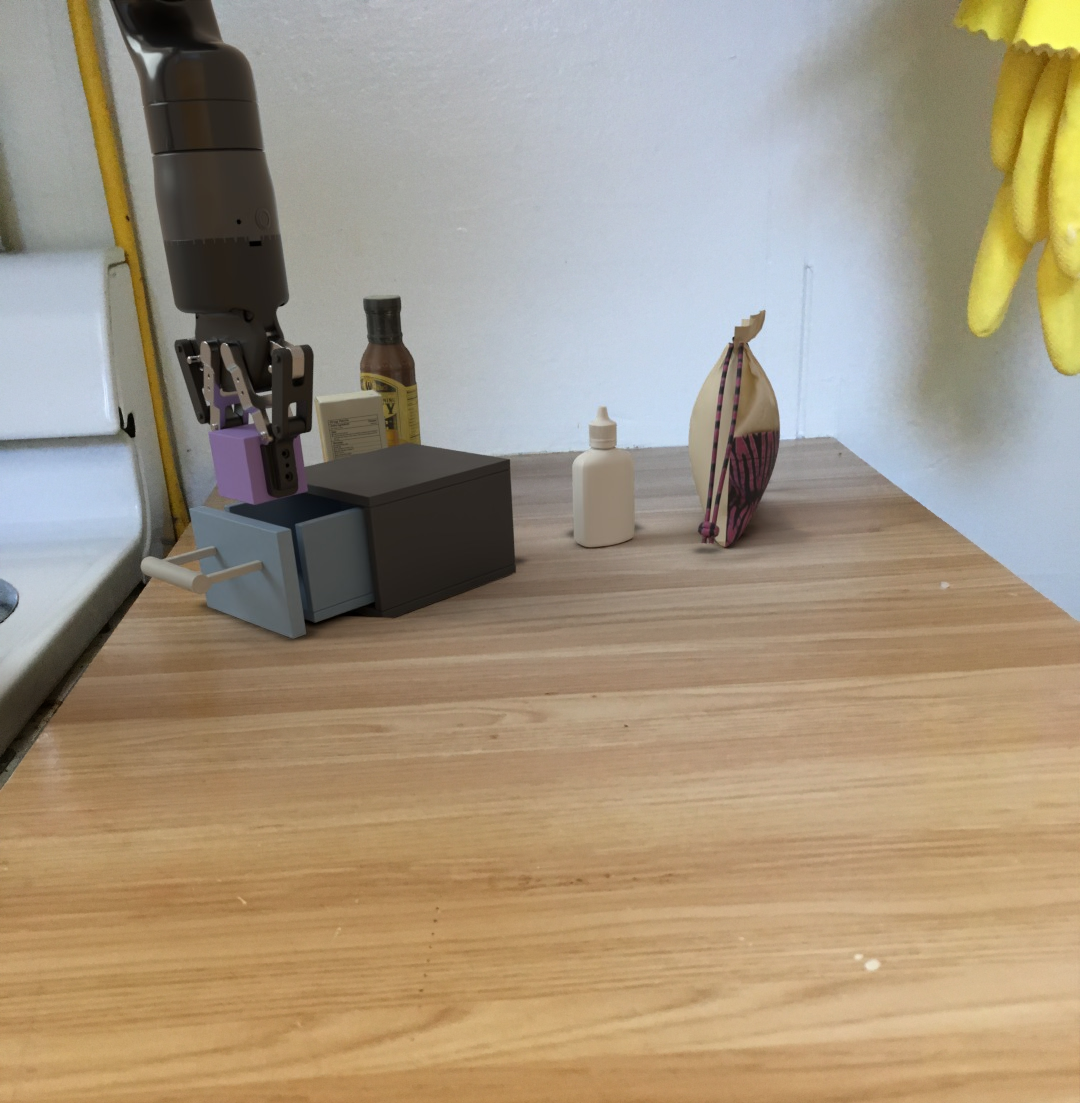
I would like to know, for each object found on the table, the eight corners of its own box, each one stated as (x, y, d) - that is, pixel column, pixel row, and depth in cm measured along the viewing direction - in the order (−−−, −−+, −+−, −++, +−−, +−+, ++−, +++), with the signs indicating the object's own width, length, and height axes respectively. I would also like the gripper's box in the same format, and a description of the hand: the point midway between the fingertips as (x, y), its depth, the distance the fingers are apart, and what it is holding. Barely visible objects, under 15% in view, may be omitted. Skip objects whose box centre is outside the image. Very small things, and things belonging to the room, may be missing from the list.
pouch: (772, 563, 89) (785, 323, 81) (673, 561, 91) (677, 325, 83) (777, 490, 111) (788, 295, 103) (698, 489, 113) (702, 298, 105)
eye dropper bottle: (573, 535, 99) (569, 403, 94) (633, 532, 99) (632, 400, 94) (574, 549, 95) (570, 412, 90) (636, 546, 95) (636, 409, 90)
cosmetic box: (389, 509, 111) (377, 388, 106) (398, 519, 107) (385, 394, 102) (328, 516, 109) (312, 394, 104) (334, 527, 105) (318, 400, 100)
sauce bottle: (358, 482, 122) (337, 297, 114) (397, 471, 127) (379, 292, 118) (397, 489, 119) (378, 298, 110) (436, 477, 123) (421, 293, 114)
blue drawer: (223, 664, 72) (202, 553, 69) (139, 628, 79) (117, 525, 76) (433, 588, 84) (425, 491, 81) (345, 563, 91) (333, 472, 88)
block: (254, 505, 74) (243, 438, 72) (218, 496, 77) (207, 432, 75) (308, 491, 77) (299, 427, 75) (272, 483, 80) (262, 421, 78)
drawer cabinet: (383, 622, 81) (368, 497, 76) (286, 590, 88) (268, 475, 84) (516, 572, 90) (510, 459, 86) (418, 547, 98) (408, 442, 94)
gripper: (115, 236, 72) (166, 488, 79) (231, 232, 63) (276, 516, 70) (213, 231, 76) (252, 468, 84) (334, 226, 67) (365, 493, 75)
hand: (262, 489), depth 77 cm, fingers closed on block, 4 cm apart
